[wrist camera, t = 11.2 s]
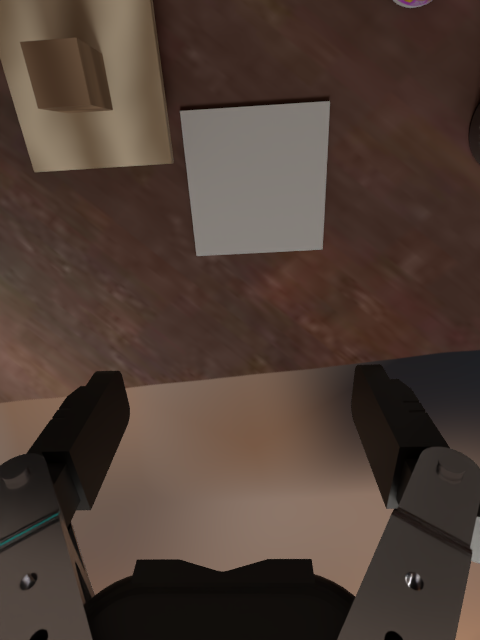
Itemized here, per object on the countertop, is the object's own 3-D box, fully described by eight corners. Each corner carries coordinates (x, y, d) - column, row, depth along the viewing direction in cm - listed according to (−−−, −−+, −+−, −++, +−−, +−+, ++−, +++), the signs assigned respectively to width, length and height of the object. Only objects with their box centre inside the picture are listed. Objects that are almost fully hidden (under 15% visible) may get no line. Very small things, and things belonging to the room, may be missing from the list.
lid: (150, -19, 27) (126, -58, 22) (173, 162, 33) (160, 166, 28) (-12, -6, 28) (-73, -41, 23) (39, 171, 34) (1, 176, 28)
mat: (329, 101, 35) (330, 101, 35) (321, 248, 42) (322, 249, 42) (180, 111, 36) (179, 111, 35) (197, 255, 43) (196, 255, 42)
